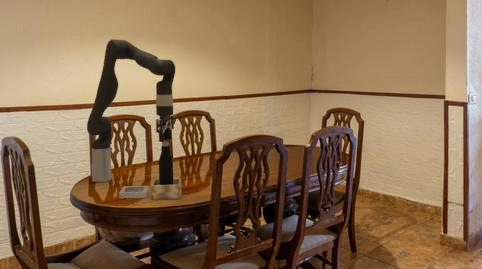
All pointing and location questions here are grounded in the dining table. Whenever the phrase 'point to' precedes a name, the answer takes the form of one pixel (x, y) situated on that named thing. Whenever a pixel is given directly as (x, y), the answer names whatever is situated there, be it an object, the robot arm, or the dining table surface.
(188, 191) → the dining table surface
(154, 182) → the crate
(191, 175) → the dining table surface
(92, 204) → the dining table surface
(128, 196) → the grey square tray
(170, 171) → the wine bottle
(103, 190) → the dining table surface
